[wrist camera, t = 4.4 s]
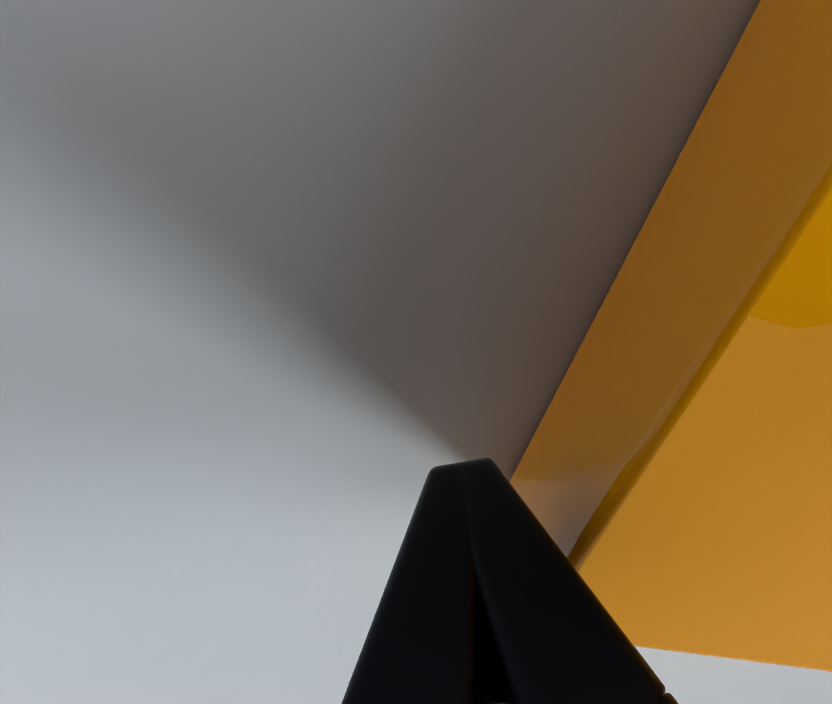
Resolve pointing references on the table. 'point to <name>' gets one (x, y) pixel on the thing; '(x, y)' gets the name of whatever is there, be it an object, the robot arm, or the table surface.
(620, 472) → the mustard yellow box
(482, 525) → the robot arm
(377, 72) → the table surface
